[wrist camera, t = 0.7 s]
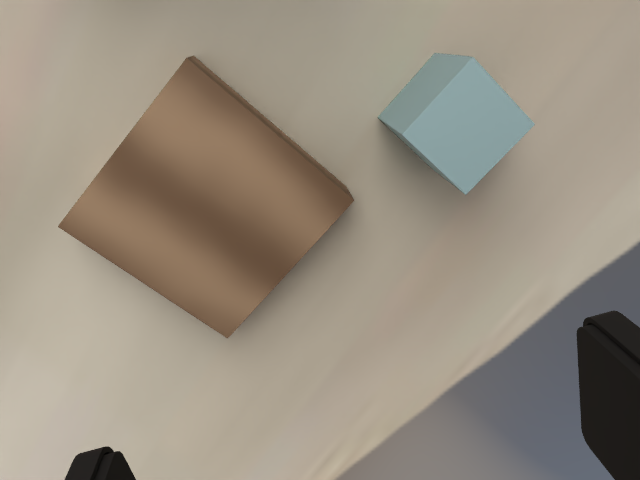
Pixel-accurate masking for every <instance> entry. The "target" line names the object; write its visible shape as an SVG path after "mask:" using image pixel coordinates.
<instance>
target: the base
mask: <svg viewBox="0 0 640 480" xmlns="http://www.w3.org/2000/svg"><path fill="white" fill-rule="evenodd" d="M353 201H354V199H353V197H352V196H351V194H350V192H349V190H348V189H347V187H346V186H345V185H344V184H343V183H342V182H340V181H339V180H338V179H337V178H336V177H335V176H333V175H332V174H331V173H330V172H329V171H328V170H326V169H325V168H324V167H323V166H322V165H321V164H319V163H318V162H317V161H316V160H315V159H314V158H312V157H311V156H310V155H309V154H308V153H307V152H305V151H304V150H303V149H302V148H301V147H300V146H298V145H297V144H296V143H295V142H294V141H293V140H291V139H290V138H289V137H288V136H287V135H286V134H284V133H283V132H282V131H281V130H280V129H279V128H277V127H276V126H275V125H274V124H273V123H271V122H270V121H269V120H268V119H267V118H266V117H264V116H263V115H262V114H261V113H260V112H259V111H257V110H256V109H255V108H254V107H253V106H252V105H250V104H249V103H248V102H247V101H246V100H245V99H243V98H242V97H241V96H240V95H239V94H238V93H236V92H235V91H234V90H233V89H232V88H231V87H229V86H228V85H227V84H226V83H225V82H224V81H222V80H221V79H220V78H219V77H218V76H217V75H215V74H214V73H213V72H212V71H211V70H210V69H208V68H207V67H206V66H205V65H204V64H203V63H201V62H200V61H199V60H198V59H197V58H196V57H194V56H191V57H188V58H186V59H185V61H184V62H183V63H182V65H181V66H180V67H179V69H178V70H177V71H176V72H175V74H174V75H173V76H172V78H171V79H170V80H169V82H168V83H167V84H166V86H165V87H164V88H163V89H162V91H161V92H160V93H159V95H158V96H157V97H156V99H155V100H154V101H153V103H152V104H151V105H150V107H149V108H148V109H147V110H146V112H145V113H144V114H143V116H142V117H141V118H140V120H139V121H138V122H137V124H136V125H135V126H134V127H133V129H132V130H131V131H130V133H129V134H128V135H127V137H126V138H125V139H124V141H123V142H122V143H121V144H120V146H119V147H118V148H117V150H116V151H115V152H114V154H113V155H112V156H111V158H110V159H109V160H108V161H107V163H106V164H105V165H104V167H103V168H102V169H101V171H100V172H99V173H98V175H97V176H96V177H95V178H94V180H93V181H92V182H91V184H90V185H89V186H88V188H87V189H86V190H85V192H84V193H83V194H82V195H81V197H80V198H79V199H78V201H77V202H76V203H75V205H74V206H73V207H72V209H71V210H70V211H69V212H68V214H67V215H66V216H65V218H64V219H63V220H62V222H61V223H60V224H59V226H58V227H59V228H61V229H62V230H64V231H65V232H67V233H68V234H70V235H71V236H73V237H74V238H76V239H77V240H79V241H80V242H82V243H84V244H85V245H87V246H88V247H90V248H91V249H93V250H94V251H96V252H97V253H99V254H100V255H102V256H103V257H105V258H106V259H108V260H109V261H111V262H112V263H114V264H115V265H117V266H118V267H120V268H121V269H123V270H124V271H126V272H128V273H129V274H131V275H132V276H134V277H135V278H137V279H138V280H140V281H141V282H143V283H144V284H146V285H147V286H149V287H150V288H152V289H153V290H155V291H156V292H158V293H159V294H161V295H162V296H164V297H165V298H167V299H168V300H170V301H172V302H173V303H175V304H176V305H178V306H179V307H181V308H182V309H184V310H185V311H187V312H188V313H190V314H191V315H193V316H194V317H196V318H197V319H199V320H200V321H202V322H203V323H205V324H206V325H208V326H209V327H211V328H213V329H214V330H216V331H217V332H219V333H220V334H222V335H223V336H225V337H226V338H228V337H229V336H230V335H231V334H232V333H233V332H234V331H235V330H236V329H237V328H238V327H239V325H240V324H241V323H242V322H243V321H244V320H245V319H246V318H247V317H248V316H249V315H250V313H251V312H252V311H253V310H254V309H255V308H256V307H257V306H258V305H259V304H260V303H261V301H262V300H263V299H264V298H265V297H266V296H267V295H268V294H269V293H270V292H271V291H272V289H273V288H274V287H275V286H276V285H277V284H278V283H279V282H280V281H281V280H282V279H283V278H284V276H285V275H286V274H287V273H288V272H289V271H290V270H291V269H292V268H293V267H294V266H295V264H296V263H297V262H298V261H299V260H300V259H301V258H302V257H303V256H304V255H305V254H306V252H307V251H308V250H309V249H310V248H311V247H312V246H313V245H314V244H315V243H316V242H317V240H318V239H319V238H320V237H321V236H322V235H323V234H324V233H325V232H326V231H327V230H328V229H329V227H330V226H331V225H332V224H333V223H334V222H335V221H336V220H337V219H338V218H339V217H340V215H341V214H342V213H343V212H344V211H345V210H346V209H347V208H348V207H349V206H350V205H351V203H352V202H353Z"/></svg>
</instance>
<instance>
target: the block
mask: <svg viewBox="0 0 640 480" xmlns="http://www.w3.org/2000/svg"><path fill="white" fill-rule="evenodd" d="M378 118H379V119H380V120H381V121H382V122H383V123H384V124H385V125H386V126H387V127H388V128H389V129H390V130H392V131H393V132H394V133H395V134H396V135H397V136H398V137H399V138H400V139H401V140H402V141H403V142H404V143H405V144H406V145H407V146H409V147H410V148H411V149H412V150H413V151H414V152H415V153H416V154H417V155H418V156H419V157H420V158H421V159H422V160H423V161H424V162H426V163H427V164H428V165H429V166H430V167H431V168H432V169H433V170H434V171H436V172H437V173H438V174H440V175H441V176H442V177H443V178H445V179H446V180H447V181H449V182H450V183H451V184H452V185H454V186H455V187H456V188H458V189H459V190H460V191H461V192H463V193H464V194H465V195H466V194H467V193H468V192H469V191H470V190H471V189H472V188H473V187H474V186H475V185H476V184H477V183H478V182H479V181H480V180H481V179H482V178H483V177H484V176H485V175H486V174H487V173H488V172H489V171H490V170H491V169H492V168H493V167H494V166H495V165H496V164H497V163H498V162H499V160H500V159H501V158H502V157H503V156H504V155H505V154H506V153H507V152H508V151H509V150H510V149H511V148H512V147H513V146H514V145H515V144H516V143H517V142H518V141H519V140H520V139H521V138H522V137H523V136H524V135H525V134H526V133H527V132H528V131H529V130H530V129H531V128H532V127H533V126H534V125H535V124H534V123H533V122H532V120H531V119H530V118H529V117H528V116H527V115H526V114H525V113H524V112H523V111H522V110H521V109H520V107H519V106H518V105H517V104H516V103H515V102H514V101H513V100H512V99H511V98H510V97H509V95H508V94H507V93H506V92H505V91H504V90H503V89H502V88H501V87H500V86H499V85H498V84H497V82H496V81H495V80H494V79H493V78H492V77H491V76H490V75H489V74H488V73H487V72H486V70H485V69H484V68H483V67H482V66H481V65H480V64H479V63H478V62H477V61H476V60H475V59H474V57H469V56H460V55H450V54H440V53H434V55H433V56H432V57H431V58H430V59H429V60H428V61H427V62H426V64H425V65H424V66H423V67H422V68H421V69H420V70H419V71H418V73H417V74H416V75H415V76H414V77H413V78H412V79H411V80H410V82H409V83H408V84H407V85H406V86H405V87H404V88H403V89H402V91H401V92H400V93H399V94H398V95H397V96H396V97H395V98H394V100H393V101H392V102H391V103H390V104H389V105H388V106H387V107H386V108H385V110H384V111H383V112H382V113H381V114H380V115H379V116H378Z"/></svg>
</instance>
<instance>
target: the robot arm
mask: <svg viewBox="0 0 640 480" xmlns="http://www.w3.org/2000/svg"><path fill="white" fill-rule="evenodd" d="M577 348H578V367H579V388H580V407H581V428H582V433H583V436H584V439H585V441H586V443H587V444H588V446H589V447H590V449H591V450H592V451H593V453H594V454H595V455H596V457H597V458H598V459H599V460H600V461H601V463H602V464H603V465H604V466H605V468H606V469H607V470H608V472H609V473H610V474H611V475H612V477H613V478H614V479H615V480H640V328H639V327H638V326H637V325H635V324H634V323H633V322H631V321H630V320H629V319H628V318H626V317H625V316H624V315H623V314H621V313H619V312H618V311H611V312H607V313H603V314H599V315H595V316H592V317H588V318H586V319H585V320H584V322H583V327H580V328H578V330H577ZM65 480H136V479H135V477H134V475H133V473H132V471H131V469H130V467H129V465H128V463H127V461H126V460H125V458H124V456H123V454H122V453H121V452H120V451H117V452H114V451H113V450H112V449H111V448H110V447H102V448H98V449H95V450H91V451H87V452H83V453H80V454H78V455H77V456H76V457H75V458H74V460H73V462H72V464H71V467H70V469H69V471H68V474H67V476H66V478H65Z"/></svg>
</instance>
